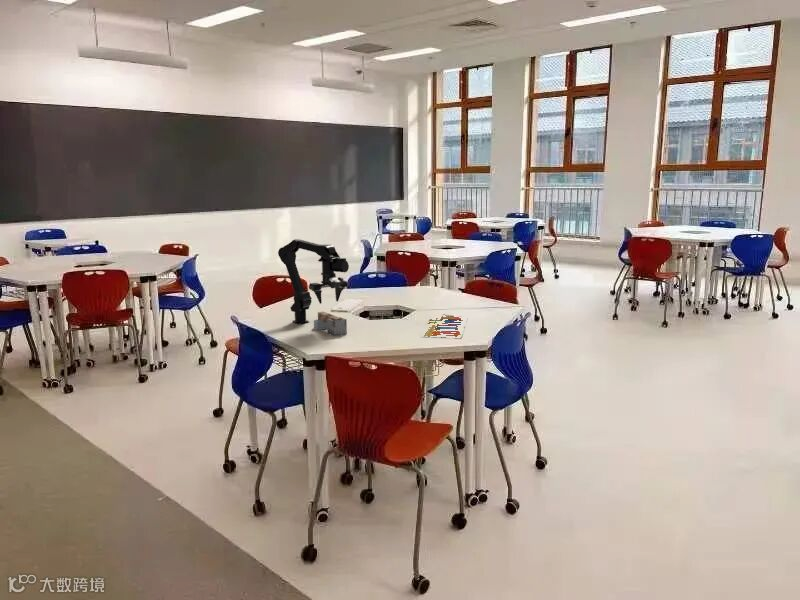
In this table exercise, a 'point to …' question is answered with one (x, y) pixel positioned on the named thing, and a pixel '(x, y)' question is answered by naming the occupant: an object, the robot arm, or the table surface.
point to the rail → (326, 317)
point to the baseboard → (346, 305)
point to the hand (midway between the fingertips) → (328, 302)
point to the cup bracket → (337, 326)
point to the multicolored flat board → (450, 320)
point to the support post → (319, 324)
